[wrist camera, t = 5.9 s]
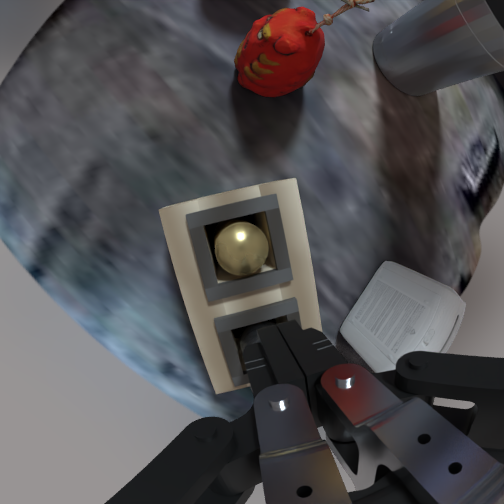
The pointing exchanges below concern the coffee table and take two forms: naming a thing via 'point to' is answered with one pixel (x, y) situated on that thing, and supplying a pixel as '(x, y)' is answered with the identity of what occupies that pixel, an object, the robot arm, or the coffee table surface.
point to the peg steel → (252, 334)
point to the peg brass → (239, 246)
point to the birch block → (241, 286)
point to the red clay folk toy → (284, 50)
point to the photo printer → (402, 317)
